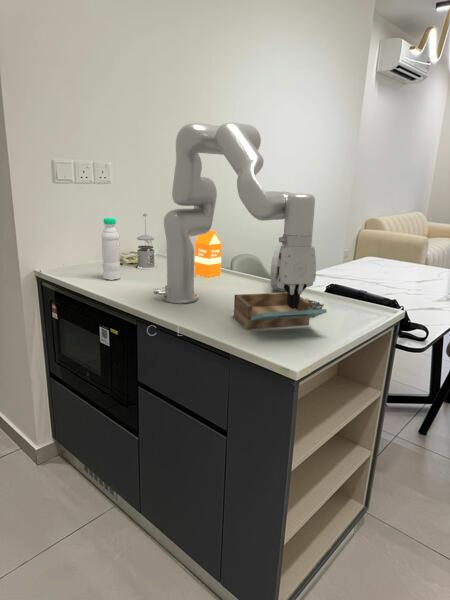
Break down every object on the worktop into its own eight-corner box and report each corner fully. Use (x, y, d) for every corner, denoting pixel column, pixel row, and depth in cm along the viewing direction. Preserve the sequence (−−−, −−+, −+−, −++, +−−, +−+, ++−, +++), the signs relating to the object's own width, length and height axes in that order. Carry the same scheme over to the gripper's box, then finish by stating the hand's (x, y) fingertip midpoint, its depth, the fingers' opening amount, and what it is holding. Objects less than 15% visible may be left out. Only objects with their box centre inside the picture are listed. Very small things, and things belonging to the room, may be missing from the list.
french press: (132, 268, 205) (130, 213, 198) (141, 263, 216) (139, 211, 209) (152, 270, 203) (152, 214, 196) (160, 265, 214) (160, 212, 207)
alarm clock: (286, 281, 189) (289, 235, 184) (303, 284, 186) (307, 237, 181) (269, 292, 171) (272, 241, 165) (287, 295, 168) (291, 243, 162)
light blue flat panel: (251, 323, 128) (263, 320, 118) (250, 317, 128) (262, 312, 119) (310, 319, 133) (327, 315, 124) (310, 313, 134) (326, 309, 124)
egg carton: (311, 319, 142) (312, 307, 141) (290, 314, 146) (291, 303, 145) (325, 312, 150) (326, 300, 149) (305, 307, 154) (306, 296, 153)
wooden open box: (247, 329, 130) (248, 306, 128) (233, 315, 142) (234, 294, 140) (308, 325, 136) (310, 303, 134) (291, 312, 148) (292, 291, 146)
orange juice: (207, 272, 202) (208, 228, 196) (220, 276, 196) (222, 230, 190) (194, 275, 196) (194, 229, 191) (208, 278, 190) (209, 231, 185)
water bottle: (124, 278, 185) (122, 218, 179) (111, 281, 180) (109, 219, 173) (112, 276, 189) (110, 216, 182) (99, 279, 183) (96, 217, 176)
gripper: (277, 243, 112) (273, 313, 117) (329, 242, 117) (323, 309, 122) (266, 239, 119) (262, 305, 124) (316, 238, 124) (310, 302, 128)
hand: (292, 307), depth 123 cm, fingers closed
